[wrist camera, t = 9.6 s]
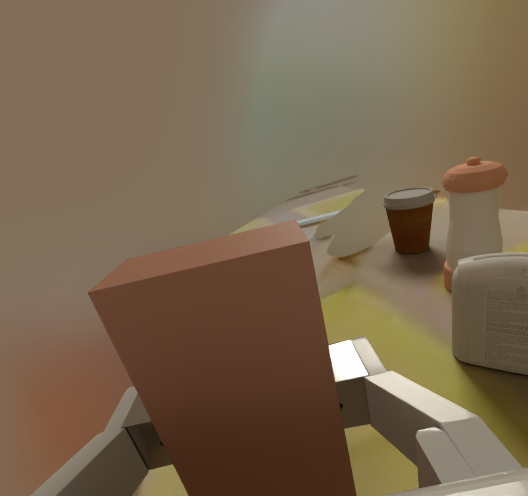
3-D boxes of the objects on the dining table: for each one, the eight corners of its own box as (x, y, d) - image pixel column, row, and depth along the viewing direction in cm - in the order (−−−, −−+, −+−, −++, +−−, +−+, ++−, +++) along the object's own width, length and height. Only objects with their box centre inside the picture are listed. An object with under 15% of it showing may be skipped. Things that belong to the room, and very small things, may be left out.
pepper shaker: (434, 280, 46) (428, 163, 40) (478, 270, 46) (479, 150, 39) (465, 302, 39) (465, 165, 33) (517, 290, 39) (527, 149, 33)
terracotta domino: (364, 538, 9) (309, 240, 6) (223, 565, 10) (87, 292, 6) (345, 474, 11) (295, 220, 8) (228, 497, 12) (126, 259, 8)
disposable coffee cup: (394, 260, 55) (389, 202, 52) (382, 244, 64) (376, 193, 60) (446, 252, 53) (445, 191, 50) (426, 236, 62) (423, 183, 58)
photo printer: (576, 357, 28) (594, 244, 24) (592, 391, 25) (616, 266, 21) (452, 339, 34) (450, 246, 30) (452, 364, 30) (449, 263, 26)
